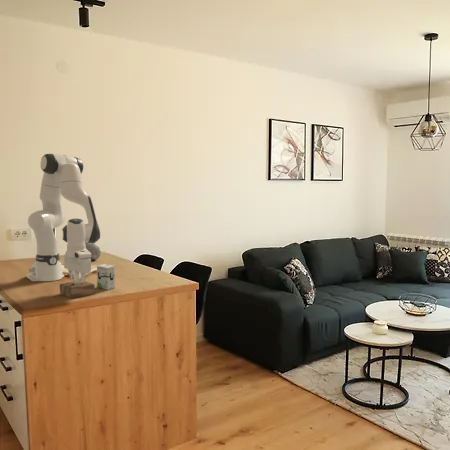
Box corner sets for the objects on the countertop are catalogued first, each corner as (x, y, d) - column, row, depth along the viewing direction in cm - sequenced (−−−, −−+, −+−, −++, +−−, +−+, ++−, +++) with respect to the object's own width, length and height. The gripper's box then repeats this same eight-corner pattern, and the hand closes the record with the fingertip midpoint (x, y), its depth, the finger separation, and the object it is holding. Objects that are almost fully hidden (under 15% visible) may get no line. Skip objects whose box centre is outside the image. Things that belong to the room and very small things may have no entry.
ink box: (96, 287, 241) (96, 265, 240) (103, 285, 245) (103, 263, 244) (108, 290, 237) (107, 267, 235) (115, 288, 241) (115, 265, 239)
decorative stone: (99, 258, 321) (98, 237, 319) (102, 261, 312) (101, 239, 310) (76, 260, 314) (76, 238, 312) (79, 263, 305) (78, 240, 303)
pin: (72, 289, 228) (72, 269, 227) (78, 288, 230) (78, 269, 229) (76, 291, 226) (75, 270, 224) (82, 289, 228) (81, 270, 227)
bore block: (59, 293, 227) (59, 283, 227) (81, 289, 236) (81, 280, 236) (72, 298, 219) (72, 288, 219) (94, 294, 228) (94, 284, 228)
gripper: (60, 250, 230) (60, 277, 232) (81, 255, 216) (81, 284, 218) (71, 248, 235) (72, 275, 236) (93, 254, 221) (93, 282, 223)
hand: (77, 279), depth 227 cm, fingers open, 8 cm apart
